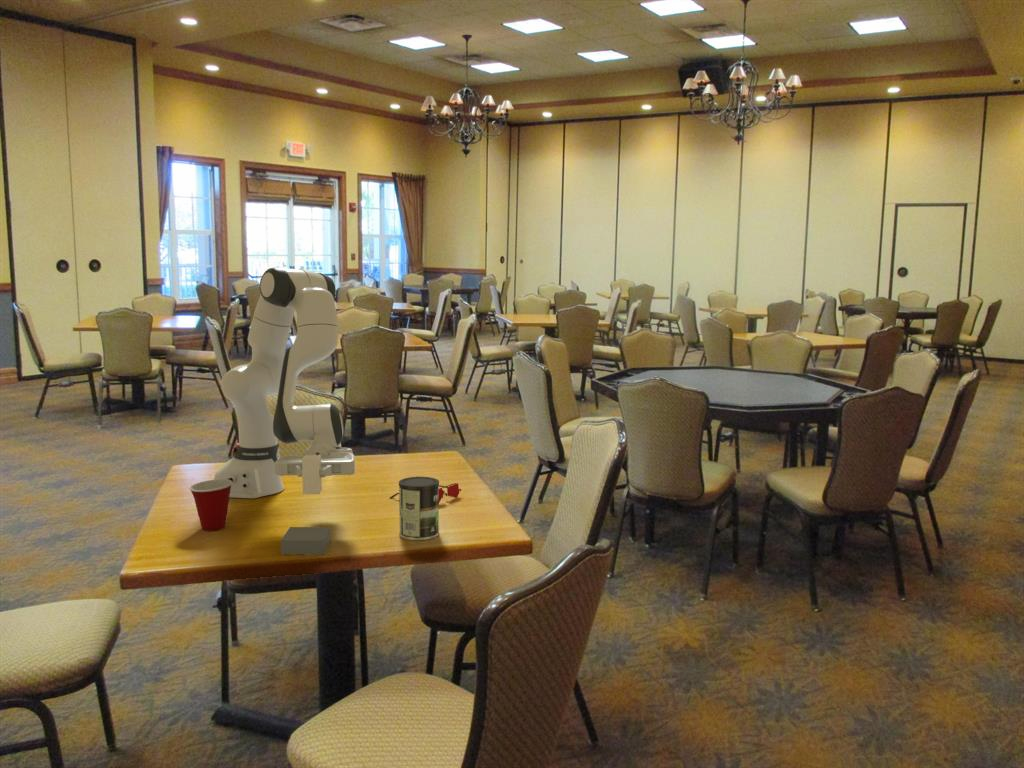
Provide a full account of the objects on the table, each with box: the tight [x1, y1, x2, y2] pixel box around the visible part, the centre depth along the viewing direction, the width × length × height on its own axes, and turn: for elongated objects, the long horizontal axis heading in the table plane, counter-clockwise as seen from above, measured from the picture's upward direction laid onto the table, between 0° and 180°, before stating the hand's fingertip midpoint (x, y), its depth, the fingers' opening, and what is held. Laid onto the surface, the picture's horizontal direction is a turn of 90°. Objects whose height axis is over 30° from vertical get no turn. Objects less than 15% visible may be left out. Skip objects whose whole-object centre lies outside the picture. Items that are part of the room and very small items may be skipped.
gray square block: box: [280, 526, 332, 556], centre depth 211 cm, size 10×10×4 cm
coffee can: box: [398, 476, 440, 541], centre depth 222 cm, size 10×10×14 cm
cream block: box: [302, 455, 323, 495], centre depth 215 cm, size 4×4×9 cm
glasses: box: [389, 482, 462, 503], centre depth 256 cm, size 14×16×5 cm
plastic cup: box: [188, 479, 233, 532], centre depth 224 cm, size 11×11×12 cm
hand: (311, 473), depth 214 cm, fingers closed on cream block, 4 cm apart
